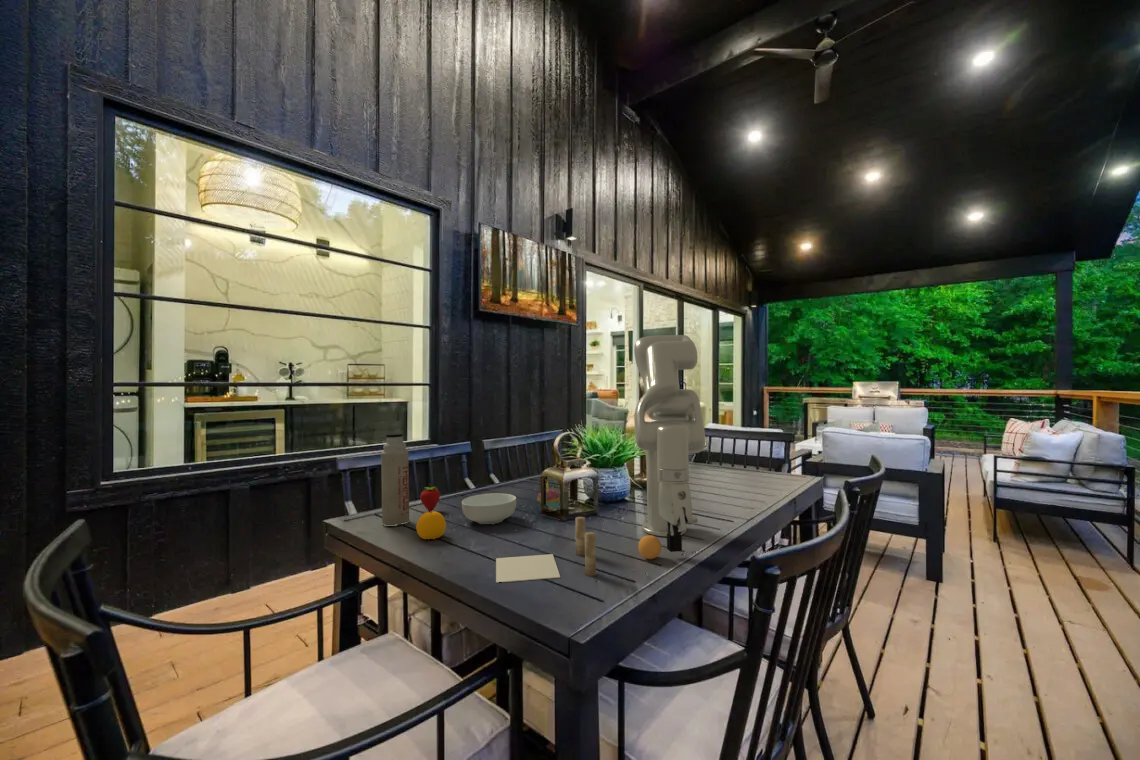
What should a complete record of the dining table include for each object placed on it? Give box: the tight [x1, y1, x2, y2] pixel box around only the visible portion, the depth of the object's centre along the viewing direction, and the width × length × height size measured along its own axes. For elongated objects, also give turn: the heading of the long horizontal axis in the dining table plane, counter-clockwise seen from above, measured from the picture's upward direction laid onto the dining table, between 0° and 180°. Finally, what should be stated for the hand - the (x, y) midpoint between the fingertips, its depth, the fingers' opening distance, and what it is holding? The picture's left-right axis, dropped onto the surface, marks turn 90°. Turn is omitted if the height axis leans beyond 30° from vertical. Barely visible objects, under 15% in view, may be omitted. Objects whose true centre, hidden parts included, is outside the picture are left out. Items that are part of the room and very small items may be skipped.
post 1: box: [575, 516, 586, 557], centre depth 118 cm, size 2×2×9 cm
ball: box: [638, 534, 662, 560], centre depth 114 cm, size 6×6×6 cm
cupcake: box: [537, 481, 561, 509], centre depth 159 cm, size 9×8×12 cm
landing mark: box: [495, 553, 561, 584], centre depth 110 cm, size 14×14×1 cm
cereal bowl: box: [461, 492, 517, 525], centre depth 148 cm, size 17×17×7 cm
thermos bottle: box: [380, 432, 410, 525], centre depth 147 cm, size 8×8×28 cm
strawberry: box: [419, 484, 441, 512], centre depth 159 cm, size 6×8×10 cm
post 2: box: [584, 531, 597, 577], centre depth 106 cm, size 2×2×9 cm
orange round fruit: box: [415, 510, 447, 541], centre depth 132 cm, size 8×8×8 cm
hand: (674, 550), depth 115 cm, fingers closed
